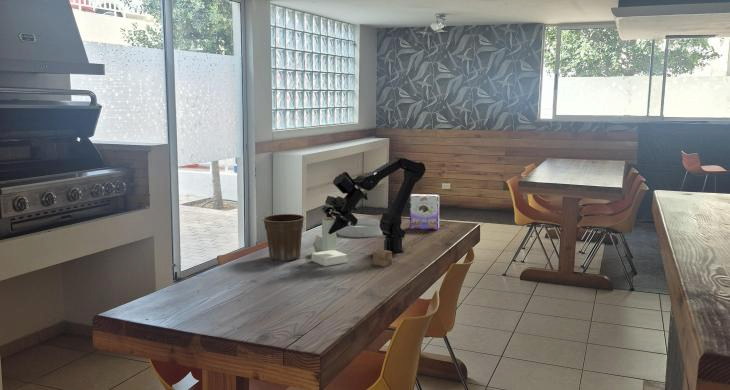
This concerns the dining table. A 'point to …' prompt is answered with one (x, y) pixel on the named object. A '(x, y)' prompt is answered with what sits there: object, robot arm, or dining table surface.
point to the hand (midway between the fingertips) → (326, 232)
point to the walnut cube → (382, 257)
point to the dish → (362, 228)
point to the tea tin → (328, 239)
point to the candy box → (424, 211)
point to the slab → (329, 257)
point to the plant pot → (284, 236)
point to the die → (318, 244)
